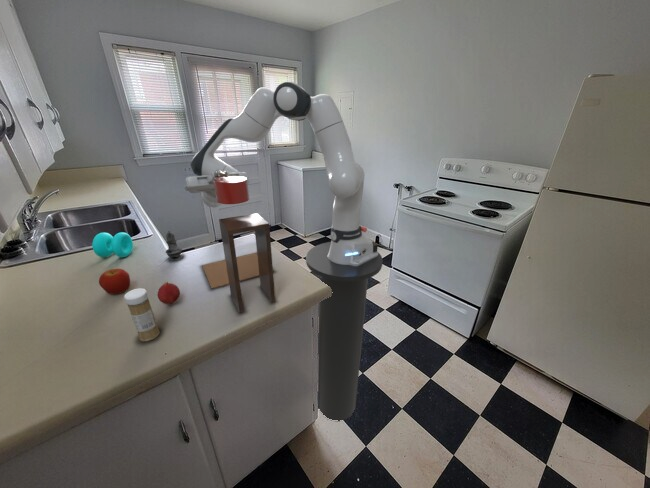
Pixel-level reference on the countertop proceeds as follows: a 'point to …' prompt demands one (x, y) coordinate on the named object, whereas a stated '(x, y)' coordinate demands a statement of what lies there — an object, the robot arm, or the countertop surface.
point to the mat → (220, 276)
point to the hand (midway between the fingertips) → (221, 174)
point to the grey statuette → (173, 248)
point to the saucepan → (231, 189)
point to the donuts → (112, 244)
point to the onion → (168, 293)
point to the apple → (115, 281)
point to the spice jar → (142, 314)
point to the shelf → (263, 253)
